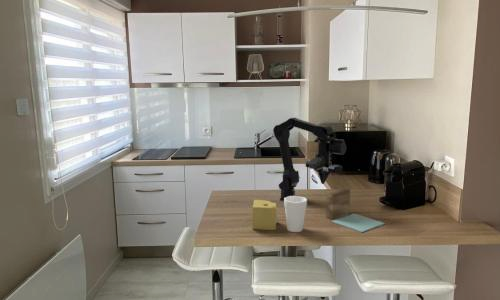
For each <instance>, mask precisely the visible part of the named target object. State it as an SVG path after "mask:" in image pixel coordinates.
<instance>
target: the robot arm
mask: <svg viewBox="0 0 500 300" xmlns="http://www.w3.org/2000/svg"><path fill="white" fill-rule="evenodd" d="M294 128H297V129H300V130H303V131H306V132H308V133H312V134H313V135H314V136H315V137H316V139H314V141H313V142H314V143H318V144H317V153H316V154H315V157H314V158H312V159H311V160H306V162H305V167H306V168H309V169H311V170H314V171H315V172H316V173H317V174H318V177H319V180H320V184H322V185H324V184H325V183H326V181H327V180H328V178H329V175H330V174H331V173H332V174H337V173H343V167H342V165H340V164H332V162H331V161H330V159H331V157H332V155H333V154H335V155H345V154H346V152H347V144H346V142H345V139H338V138H337V136H336V135H335V132H334V131H333V128H332V126H331V125H328V124H327V125H326V124H316V123H312V122H309V121H305V120H303V119H299V118H297V117H290V118H288V119H287V120H285V121H283V122H281V123H280V124H276V125H275V126H274V127H273V129H272V132H273V136H274V139H276V141H277V142H278V144H279V145H278V146H279V150H280V154H281V155H280V156H281V161H282V165H283V172H282V181H281V182H280V183H279V184H278V189H279V190H280V198H279V201H283V202H284V198H286V197H289V196H296V191H295V188H296V187H297V185H298V184H299V182H300V179H301V177H300V175H299V174H300V172H299V170H296V169H295V168H294V165H293V163H294V162H293V158H292V153H291V148H290V143H289V139H290V136H291V134H290V133H291V132H290V131H291V130H293V129H294Z"/></svg>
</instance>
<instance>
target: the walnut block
mask: <svg viewBox="0 0 500 300" xmlns="http://www.w3.org/2000/svg"><path fill="white" fill-rule="evenodd" d="M350 198H351V189H350V188H346V187H343V188H339V189H335V190H331V191H328V192H326V209H325V211H326V214H325V218H326V219H328V220H329V221H333V220H336V219H339V218H342V217H345V216H348V215H350V203H351V202H350V200H351V199H350Z"/></svg>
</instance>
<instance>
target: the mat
mask: <svg viewBox="0 0 500 300" xmlns="http://www.w3.org/2000/svg"><path fill="white" fill-rule="evenodd" d="M331 223H333V224H336V225H339V226H343V227H345V228H348V229H350V230H353V231H357V232H360V233H365V232H367V231H370V230H372V229H374V228H375V229H376V228H378V227H380V226H383V225H385V222H383V221H381V220H376V219H372V218H370V217H367V216H363V215H360V214H357V213H352V214H349V215H346V216H343V217H340V218H337V219H334V220H331Z"/></svg>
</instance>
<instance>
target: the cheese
mask: <svg viewBox="0 0 500 300" xmlns="http://www.w3.org/2000/svg"><path fill="white" fill-rule="evenodd" d="M277 209H278V207H277V202H272V201H270V200H265V199H264V200H263V199H253V204H252V211H251V213H252V218H251V220H252V223H251V224H252V225H251V226H252V230H264V231H269V230H270V231H276V229H277V228H276V227H277V223H278V222H277V221H278V214H277Z"/></svg>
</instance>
